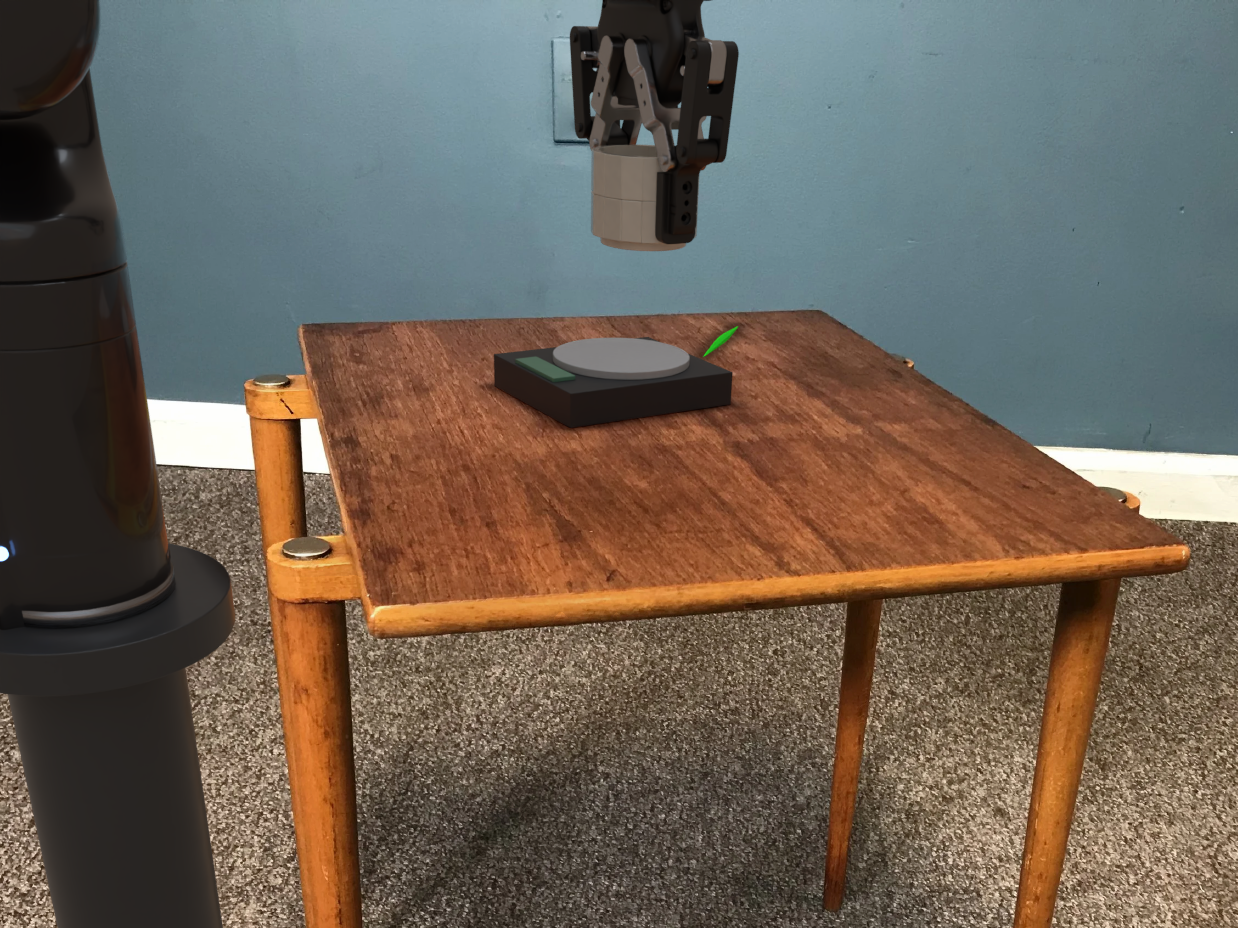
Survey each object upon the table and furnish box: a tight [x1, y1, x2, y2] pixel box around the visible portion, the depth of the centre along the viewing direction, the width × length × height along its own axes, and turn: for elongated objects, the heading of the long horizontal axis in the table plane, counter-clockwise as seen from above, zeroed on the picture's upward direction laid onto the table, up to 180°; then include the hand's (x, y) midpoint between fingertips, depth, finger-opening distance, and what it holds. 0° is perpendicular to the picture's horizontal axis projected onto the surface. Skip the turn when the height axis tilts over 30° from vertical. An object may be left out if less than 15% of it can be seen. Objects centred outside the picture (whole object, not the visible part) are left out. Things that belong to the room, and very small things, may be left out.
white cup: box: [590, 144, 700, 252], centre depth 77 cm, size 6×6×5 cm
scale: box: [493, 336, 733, 429], centre depth 103 cm, size 14×12×3 cm
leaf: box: [702, 325, 739, 358], centre depth 121 cm, size 1×14×1 cm, turn 164°
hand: (644, 231), depth 78 cm, fingers closed on white cup, 6 cm apart
